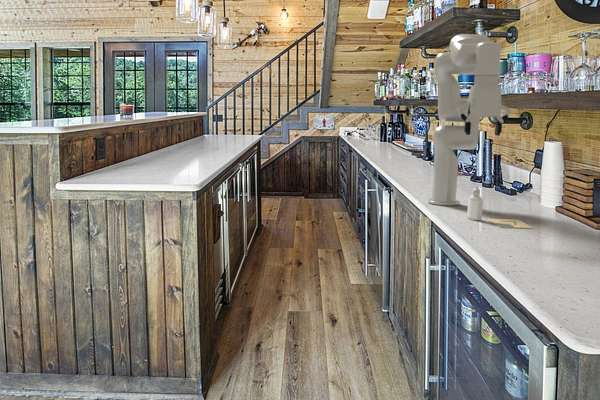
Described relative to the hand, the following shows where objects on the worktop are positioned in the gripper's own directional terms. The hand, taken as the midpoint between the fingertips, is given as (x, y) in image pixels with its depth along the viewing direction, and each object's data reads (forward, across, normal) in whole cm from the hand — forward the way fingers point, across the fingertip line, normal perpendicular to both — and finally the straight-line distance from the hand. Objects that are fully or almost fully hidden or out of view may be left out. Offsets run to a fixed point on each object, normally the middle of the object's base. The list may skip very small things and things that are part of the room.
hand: (482, 135), depth 196 cm
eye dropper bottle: (+30, -3, -12) cm, 33 cm away
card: (+30, -13, -5) cm, 33 cm away
